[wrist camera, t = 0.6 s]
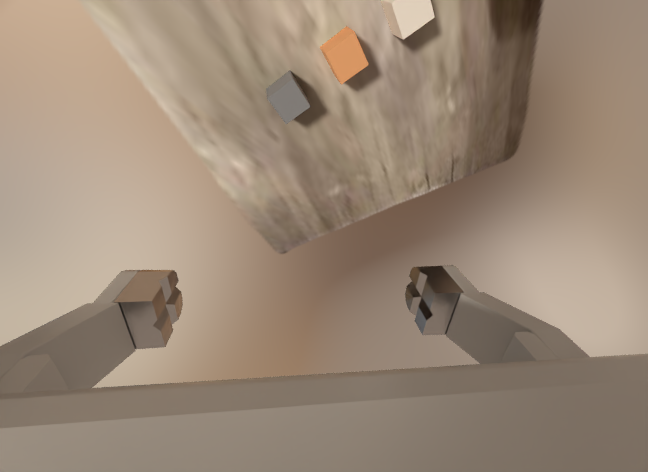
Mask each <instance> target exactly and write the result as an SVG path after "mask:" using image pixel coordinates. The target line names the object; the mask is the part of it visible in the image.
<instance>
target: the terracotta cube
mask: <svg viewBox="0 0 648 472" xmlns="http://www.w3.org/2000/svg"><path fill="white" fill-rule="evenodd" d="M320 49H321V50H322V52H323V54H324V56H325V58H326V60H327V62H328V64H329V66H330V67H331V69H332V71H333V73H334V75H335V77H336V78H337V79H338V81H339V82H340V84H343V83H344V82H345V81H347V80H348V79H350V78H351V77H352V76H354V75H355V74H357V73H358V72H359V71H361V70H362V69H364V68H365V67H366V66H368V65H369V64H368V62H367V59H366V57H365V55H364V52H363V50H362V48H361V45H360V43H359V41H358V39H357V36H356V34H355V32H354V31H353V30H351V29H350V28H348V27H347V26H346V27H345V28H344V29H343V30H341V31H340V32H339V33H337V34H336V35H335V36H334V37H332V38H331V39H330V40H328V41H327V42H326V43H324V44H323V45H322V46H321V47H320Z"/></svg>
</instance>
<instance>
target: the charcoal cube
mask: <svg viewBox="0 0 648 472" xmlns="http://www.w3.org/2000/svg"><path fill="white" fill-rule="evenodd" d="M266 92H267V99H268V100H269V102H270V103H271V104H272V106H273V107H274V108H275V110H276V111H277V113H278V114H279V115H280V117H281V118H282V119H283V121H284V122H285V123H286V124H287V123H289V122H290V121H291V120H293V119H294V118H296V117H297V116H298V115H300V114H301V113H303V112H304V111H305V110H307V109H308V108H309V107H311V106H310V104H309V101H308V99H307V96H306V95H305V93H304V92H303V90H302V89H301V87H300V85H299V84H298V82H297V81H296V79H295V77H294V76H293V74H292V73H291V71H288V72H287V73H286V74H285V75H283V76H282V77H281V78H279V79H278V80H277V81H276V82H274V83H273V84H272V85H270V86H269V87H268V88H267V89H266Z"/></svg>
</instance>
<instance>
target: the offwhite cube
mask: <svg viewBox="0 0 648 472" xmlns="http://www.w3.org/2000/svg"><path fill="white" fill-rule="evenodd" d="M380 1H381V4H382V7H383V10H384V12H385V15H386V18H387V21H388V24H389V27H390V30H391V32H392V34H393V35H395V36H397V37H399V38H401V39H403V40H404V39H405V38H406V37H408V36H409V35H411V34H412V33H413V32H415V31H416V30H418V29H419V28H420V27H422V26H423V25H425V24H426V23H427V22H429V21H430V20H432V19H433V18H434V17H435V16H434V12H433V8H432V4H431V0H380Z"/></svg>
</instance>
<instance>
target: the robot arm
mask: <svg viewBox="0 0 648 472" xmlns="http://www.w3.org/2000/svg"><path fill="white" fill-rule="evenodd" d="M409 277H410V278H411V280H412V282H411V283H409V284H408V285H407V288H406V293H405V298H406V304H407V307H408V309H409V311H410V312H411V313H413V314H414V315H416V318H415V322H416V324H417V326H418V328H419V330H420V332H421V333H422V335H445V334H446V336H447V337H448V338H449V339H450V340H452V341H453V342H454V343H455V344H457V345H458V346H459V347H460V348H462V349H463V350H464V351H465V352H467V353H468V354H469V355H470V356H471V357H473V358H474V359H475V360H477V361H478V362H479V363H480V364H475V365H459V366H444V367H428V368H411V369H393V370H378V371H361V372H343V373H327V374H312V375H296V376H279V377H263V378H247V379H233V380H216V381H199V382H183V383H167V384H151V385H135V386H118V387H102V388H92V387H93V386H95V385H96V384H97V383H98V382H99V381H100V380H101V379H103V378H104V377H105V376H106V375H107V374H109V373H110V372H111V371H112V370H113V369H114V368H115V367H117V366H118V365H119V364H120V363H122V362H123V361H124V360H125V359H126V358H127V357H129V356H130V355H131V354H132V353H133V352H134V351H135V349H145V348H158V347H166V344H167V342H168V340H169V338H170V336H171V334H172V332H173V328H172V324H173V323H174V322H176V321H177V320H178V319H179V316H180V314H181V310H182V305H183V304H182V294H181V291H179V290H178V289H177V288H176V287H175V286H176V285H177V283H178V277H177V273H176V272H175V271H174V270H125V271H121V272H120V273H119V274H118V275H117V276H116V278H115V279H114V280H113V281H112V282H111V283H110V284H109V286H108V287H107V288H106V289H105V290H104V291H103V292H102V293H101V294H100V296H99V297H98V298H97V299H96V300H95V301H94V303H92V304H91V303H89V304H85V305H83V306H81V307H79V308H77V309H75V310H73V311H71V312H69V313H67V314H65V315H63V316H61V317H59V318H57V319H55V320H53V321H50V322H48V323H47V324H44V325H42V326H40V327H38V328H36V329H34V330H32V331H30V332H28V333H26V334H24V335H22V336H20V337H18V338H16V339H14V340H12V341H10V342H8V343H6V344H4V345H2V346H0V472H648V354H637V355H620V356H603V357H589V356H588V355H587V354H586V353H585V352H584V351H583V350H581V348H579V347H578V346H577V345H576V344H575V343H574V342H573V341H572V340H571V339H570V338H568V337H567V336H566V335H565V334H564V333H563V332H562V331H561V330H560V329H558V328H556V327H554V326H552V325H550V324H548V323H546V322H544V321H542V320H539V319H537V318H535V317H533V316H531V315H529V314H527V313H525V312H523V311H521V310H519V309H517V308H515V307H513V306H511V305H509V304H507V303H505V302H502V301H500V300H498V299H496V298H494V297H492V296H490V295H488V294H486V293H484V292H482V293H481V292H479V291H478V290H477V289H476V288H475V287H474V286H473V285H472V284H471V282H470V281H469V280H468V279H467V278H466V277H465V276H464V275H463V274H462V273H461V272H460V271H459V269H458V268H457V267H456V266H453V265H447V266H446V265H445V266H424V267H413V268H412V269H411V271H410V275H409Z"/></svg>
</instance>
